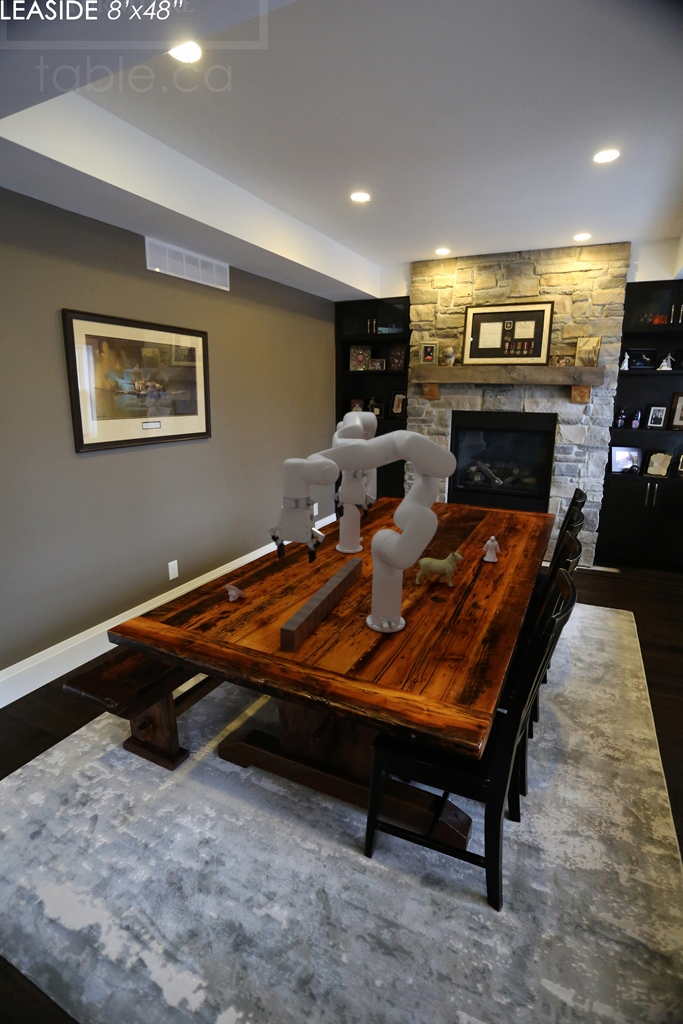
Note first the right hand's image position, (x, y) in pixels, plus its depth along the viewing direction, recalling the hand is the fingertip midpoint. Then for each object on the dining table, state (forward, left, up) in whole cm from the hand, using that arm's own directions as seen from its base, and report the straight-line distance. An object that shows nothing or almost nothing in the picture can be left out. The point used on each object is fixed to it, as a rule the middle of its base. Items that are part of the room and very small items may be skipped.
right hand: (296, 559), depth 145 cm
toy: (+41, -55, -26) cm, 73 cm away
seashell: (+30, +22, -26) cm, 46 cm away
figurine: (+69, -86, -26) cm, 113 cm away
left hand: (+48, -21, 0) cm, 52 cm away
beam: (+24, -11, -26) cm, 37 cm away
